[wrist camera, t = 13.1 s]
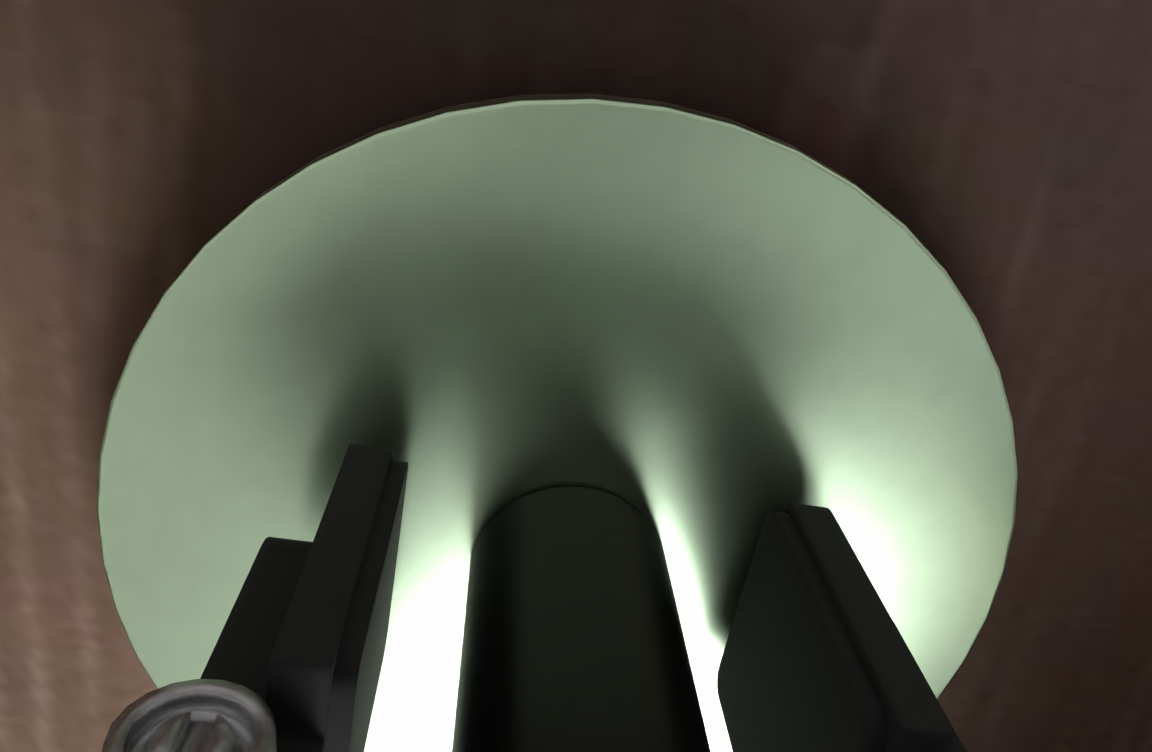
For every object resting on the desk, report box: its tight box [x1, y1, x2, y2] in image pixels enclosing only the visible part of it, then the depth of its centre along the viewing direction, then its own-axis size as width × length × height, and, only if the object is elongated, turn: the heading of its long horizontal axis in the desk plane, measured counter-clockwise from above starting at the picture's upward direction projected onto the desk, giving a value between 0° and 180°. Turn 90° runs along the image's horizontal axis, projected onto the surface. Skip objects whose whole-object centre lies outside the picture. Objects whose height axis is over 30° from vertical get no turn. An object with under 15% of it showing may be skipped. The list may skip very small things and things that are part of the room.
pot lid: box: [97, 93, 1018, 752], centre depth 11 cm, size 12×12×6 cm
